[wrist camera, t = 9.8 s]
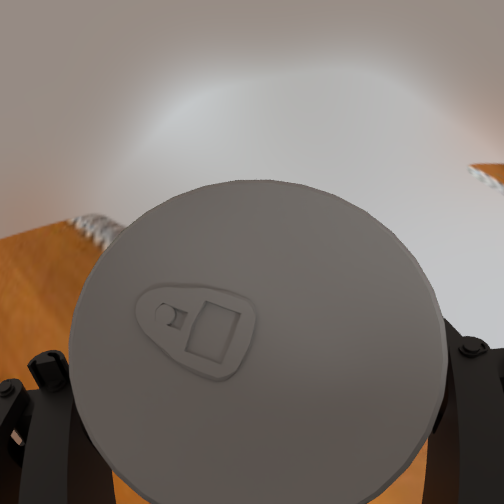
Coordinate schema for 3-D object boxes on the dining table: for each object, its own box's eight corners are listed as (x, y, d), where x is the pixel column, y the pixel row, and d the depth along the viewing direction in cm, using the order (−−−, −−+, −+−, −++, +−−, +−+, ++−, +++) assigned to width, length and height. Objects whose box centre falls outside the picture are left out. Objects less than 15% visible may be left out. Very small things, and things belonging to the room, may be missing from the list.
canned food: (203, 306, 17) (109, 182, 7) (345, 310, 16) (422, 181, 6) (190, 439, 14) (51, 480, 4) (342, 447, 13) (439, 521, 3)
